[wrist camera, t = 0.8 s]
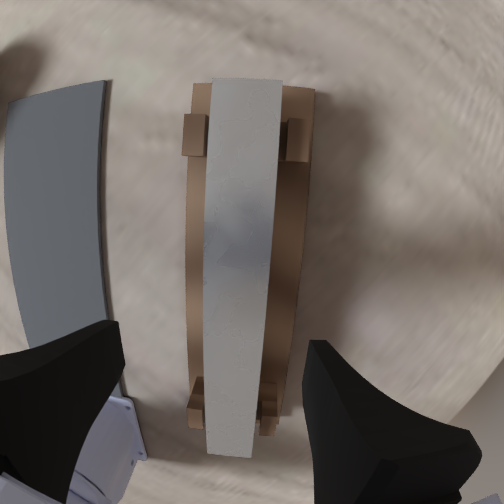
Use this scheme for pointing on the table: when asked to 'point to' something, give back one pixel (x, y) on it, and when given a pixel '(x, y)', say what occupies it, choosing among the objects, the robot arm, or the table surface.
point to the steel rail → (237, 254)
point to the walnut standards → (282, 251)
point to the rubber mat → (56, 210)
